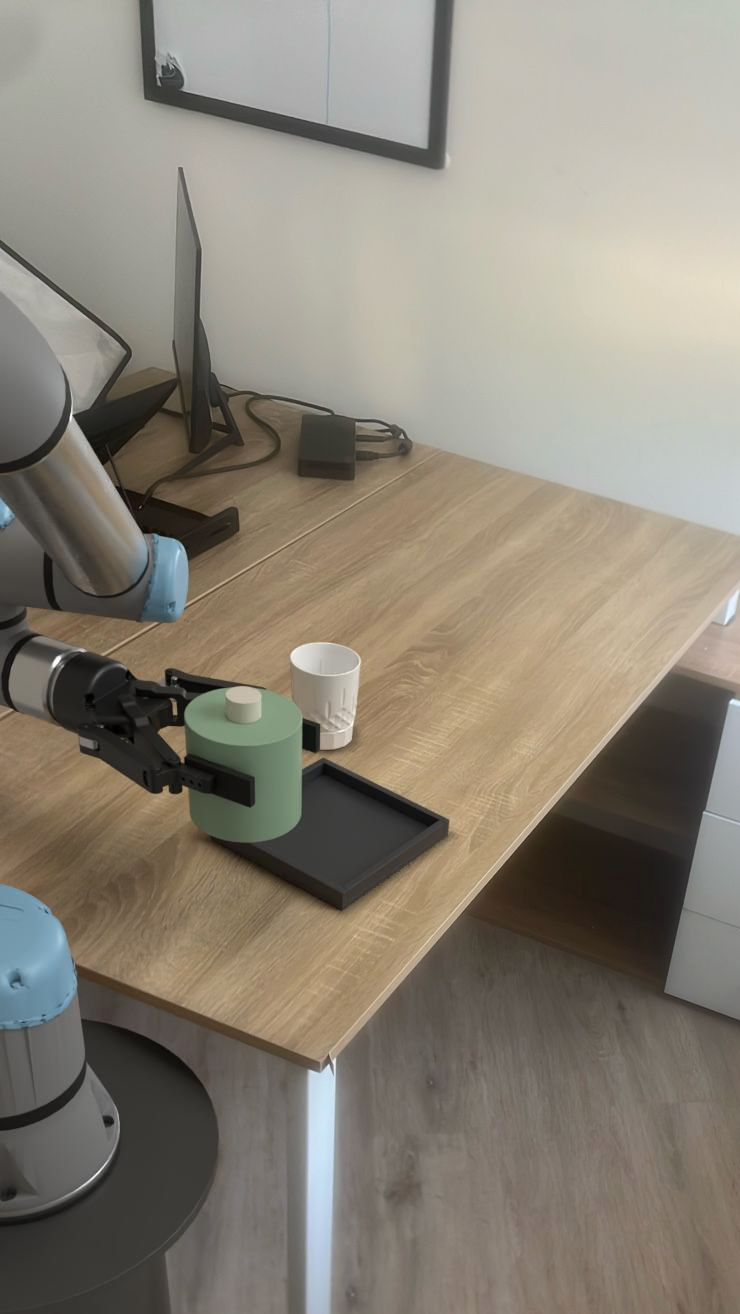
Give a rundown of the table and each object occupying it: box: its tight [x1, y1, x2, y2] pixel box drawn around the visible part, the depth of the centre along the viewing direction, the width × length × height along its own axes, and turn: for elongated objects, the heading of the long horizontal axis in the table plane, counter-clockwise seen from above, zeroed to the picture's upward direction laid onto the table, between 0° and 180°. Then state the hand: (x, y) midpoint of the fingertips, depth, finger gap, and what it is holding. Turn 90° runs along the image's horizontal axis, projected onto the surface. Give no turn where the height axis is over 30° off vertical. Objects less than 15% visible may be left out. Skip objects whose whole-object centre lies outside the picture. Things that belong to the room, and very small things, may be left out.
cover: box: [184, 686, 303, 842], centre depth 113 cm, size 10×10×12 cm
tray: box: [210, 757, 450, 911], centre depth 134 cm, size 18×18×2 cm
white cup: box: [289, 641, 362, 751], centre depth 146 cm, size 8×8×10 cm
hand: (286, 764), depth 111 cm, fingers closed on cover, 10 cm apart
